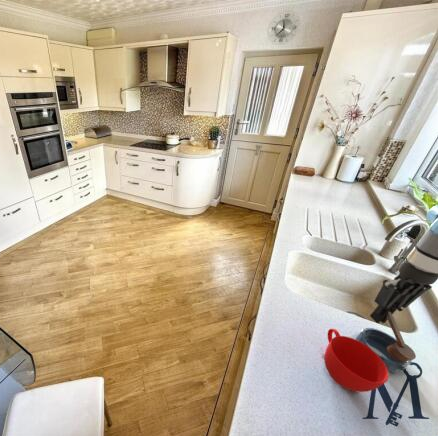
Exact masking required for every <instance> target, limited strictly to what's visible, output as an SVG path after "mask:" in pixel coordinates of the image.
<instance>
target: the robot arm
mask: <svg viewBox="0 0 438 436" xmlns="http://www.w3.org/2000/svg"><path fill="white" fill-rule="evenodd" d="M425 218H426V220H427V222H428V223H429V224H430V225H429V226H428V228H427V230H426V231H425V232H424V234H423V235H422V236H421V238H420V239H419V241H418V242H417V243H416V244H415V246H414V247H413V248H412V249H411V251H410V252H409V253H408V254H407V256H406V258H404V259H403V261H402V262H401V263H400V264H399V265H398V267H397V269H398V275H396V276H394V278H393V280H388V279H384V280H383V281H382V286H381V287H380V290H379V291H378V293H377V295H376V297H375V299H374V303H376V304H377V306H376V307H375V308H374V310H373V311H372V313H371V314H370V315H369V317H370V318H371V319H372V320H373V322H375V323H376V324H380V323H381V324H385V323H386V322H388V319H387V316H386V314H387V313H388V312H389V311H391V313H392V315H394V313H395V312H396V311H398V312H403V310H404V309H407V308H408V307H409V306H410V305H412V303H414V302H415V301H416V300H417V299H419V298H420V297H421V296H422V295H423V294H425V292H427V291H429V290H431V289H432V288H433V286H432V285H433V284H435V283H436V282H437V281H438V204H436V205H434V206H432V207H431V208H430V209H428V211H427V213H426V217H425ZM389 308H390V309H389Z"/></svg>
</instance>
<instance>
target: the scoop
mask: <svg viewBox="0 0 438 436" xmlns="http://www.w3.org/2000/svg"><path fill="white" fill-rule="evenodd" d="M389 309H390V308H389ZM393 315H394V314H392V313H391V311H389V312H388V313H387V314H386V316H387V319H388V320H387V322H388V323H389V326H390V328H391V330H392V333H393V335H394V338H395V339H396V340H397V342H396V343H394V344H392V345H390V346H388V347H387V352H388V354H389V355H390V356H391V357H392V358H393V359H394V360H395V361H397V362H399V363H406V362H408V361H411V360H412V361H414V360H415V359H416V357H417V355H416V353H415V351H414V349H413V348H412V347H410V345H408V344H407V343H406V342H405V340H404V337H403V335H402V333H401V331H400V329H399V327H398V325H397V322H396V320H395V317H394V316H393Z"/></svg>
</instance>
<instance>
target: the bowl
mask: <svg viewBox="0 0 438 436" xmlns="http://www.w3.org/2000/svg"><path fill="white" fill-rule="evenodd" d="M355 340H357V341H359V342H361V343H363V344H364V345H366V346H367V347H369V348H370V349H371V350H372V351H374V352H375V353H376V354H377V355H378V356H379V357H380V359H381V360H382V361H383V363H384V364H385V366H386V368H387V371H388V372H392V373H401V372H403V371H404V370H405V369H407V368H408V367H409V366H410V365H412V361H413V360H411V361H408V362H406V363H399V362H397V361H395V360H394V359H393V358H392V357H391V356H390V355H389V354H388V352H387V347H388V346H390V345H392V344H394V343H396V342H397V340H396V337H395V336H392V335H391V334H389V333H387V332H386V331H383V330H380V329H378V328H373V327H365V328H363V329H362V330H361V331H360V332H359V334H358V335H357V336H356V338H355Z"/></svg>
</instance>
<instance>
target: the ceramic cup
mask: <svg viewBox="0 0 438 436" xmlns="http://www.w3.org/2000/svg"><path fill="white" fill-rule="evenodd" d="M333 334H334V337H333ZM327 341H328V344H327V346H326V348H325V352H324V357H323V359H324V360H323V361H324V366H325V369H326V371H327V373H328V374H329V376H330V378H331V379H332V380H333V381H334V382H335V383H336V384H337V385H339V386H340V387H342V388H345V389H347V390H350V391H353V392H358V393H367V392H370V391H374V390H377V389H378V388H379V387H381V386H383V385H384V384H385V383H386V382H387V381H388V379H389V371H388V370H387V368H386V366H385V364H384V363H383V361H382V360H381V359H380V357H379V356H378V355H377V354H376V353H375V352H374V351H372V350H371V349H370V348H369V347H367V346H366V345H364V344H363V343H361V342H359V341H357V340H356V338H353V337H350V336H345V335H341V333H340V332H339V331H338V330H337V329H335V328H329V329H328V331H327Z"/></svg>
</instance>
